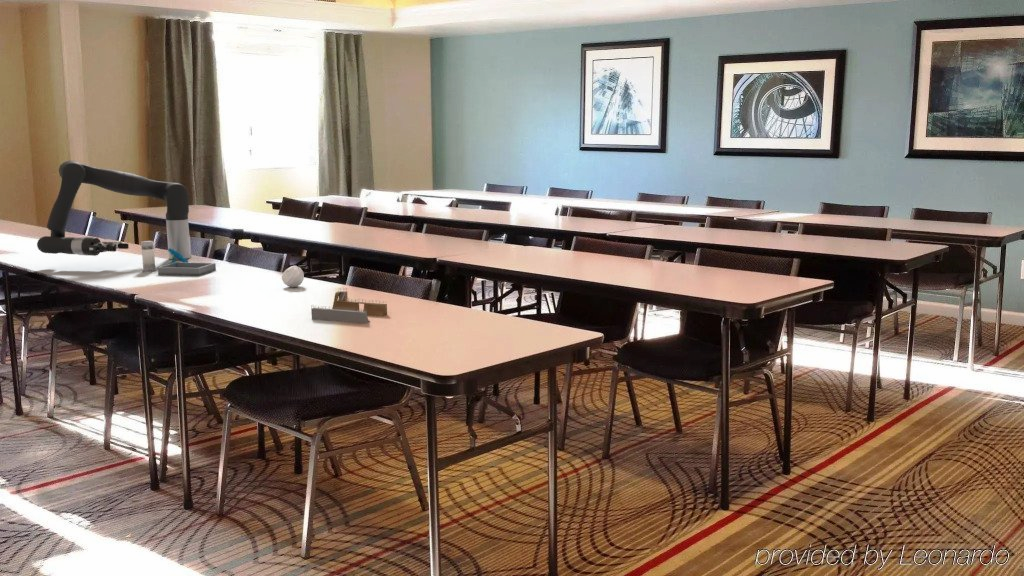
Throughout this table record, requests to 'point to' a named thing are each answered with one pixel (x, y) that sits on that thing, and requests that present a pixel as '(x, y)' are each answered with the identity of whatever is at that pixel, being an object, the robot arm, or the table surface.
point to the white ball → (293, 276)
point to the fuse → (148, 256)
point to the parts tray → (186, 269)
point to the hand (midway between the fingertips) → (121, 247)
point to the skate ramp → (348, 310)
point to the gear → (176, 256)
